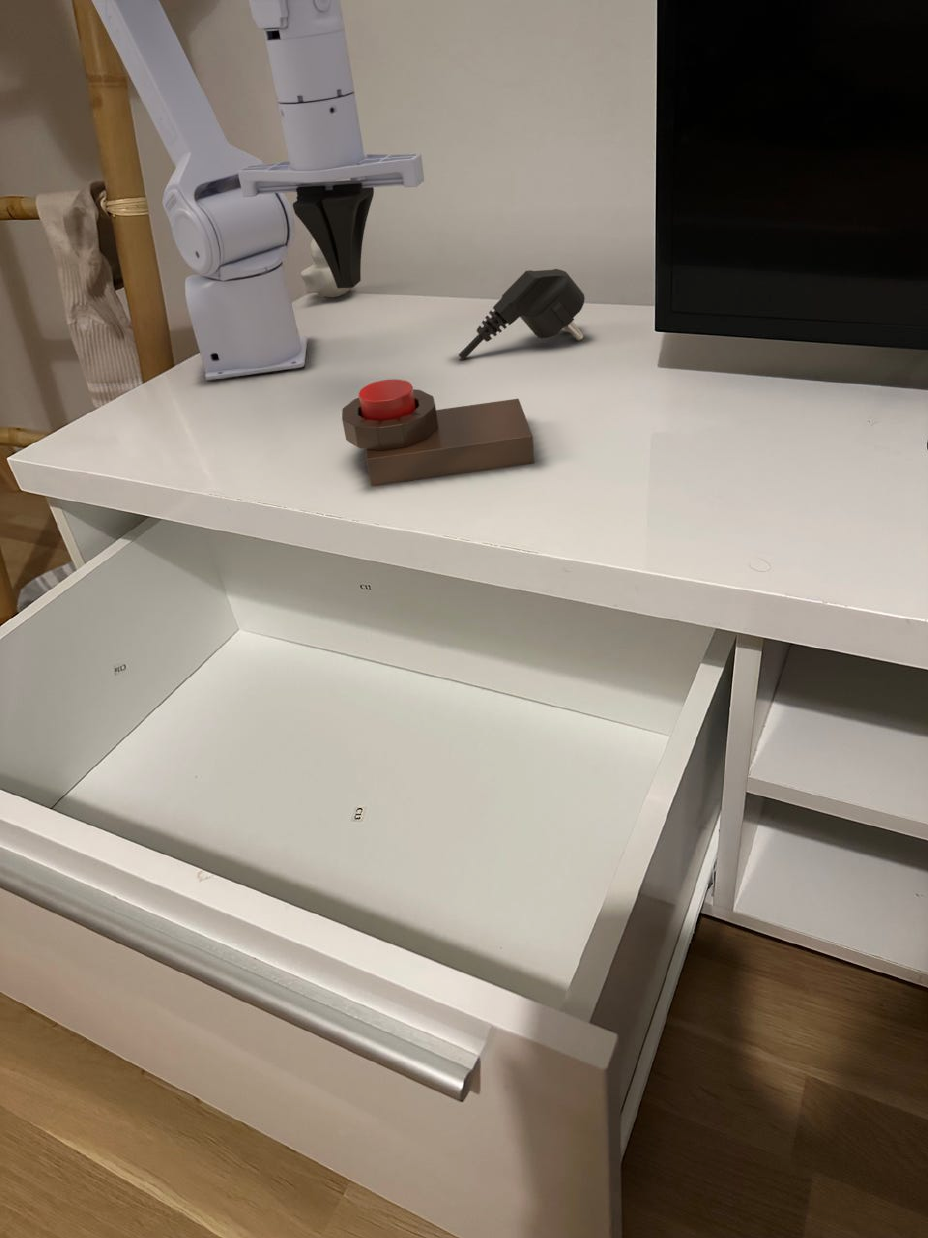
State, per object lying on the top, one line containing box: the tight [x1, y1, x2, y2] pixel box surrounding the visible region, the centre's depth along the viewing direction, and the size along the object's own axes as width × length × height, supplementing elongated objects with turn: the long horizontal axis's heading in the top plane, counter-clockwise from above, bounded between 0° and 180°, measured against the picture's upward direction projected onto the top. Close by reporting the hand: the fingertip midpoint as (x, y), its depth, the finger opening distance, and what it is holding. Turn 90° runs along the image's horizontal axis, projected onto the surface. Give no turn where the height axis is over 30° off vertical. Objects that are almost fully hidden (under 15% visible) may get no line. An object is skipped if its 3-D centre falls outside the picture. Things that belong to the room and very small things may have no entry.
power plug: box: [458, 268, 586, 361], centre depth 86 cm, size 6×8×12 cm
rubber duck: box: [300, 237, 351, 298], centre depth 103 cm, size 5×7×8 cm
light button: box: [358, 379, 416, 421], centre depth 68 cm, size 4×4×2 cm
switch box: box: [341, 388, 535, 487], centre depth 69 cm, size 13×8×4 cm, turn 96°
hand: (349, 284), depth 76 cm, fingers closed
